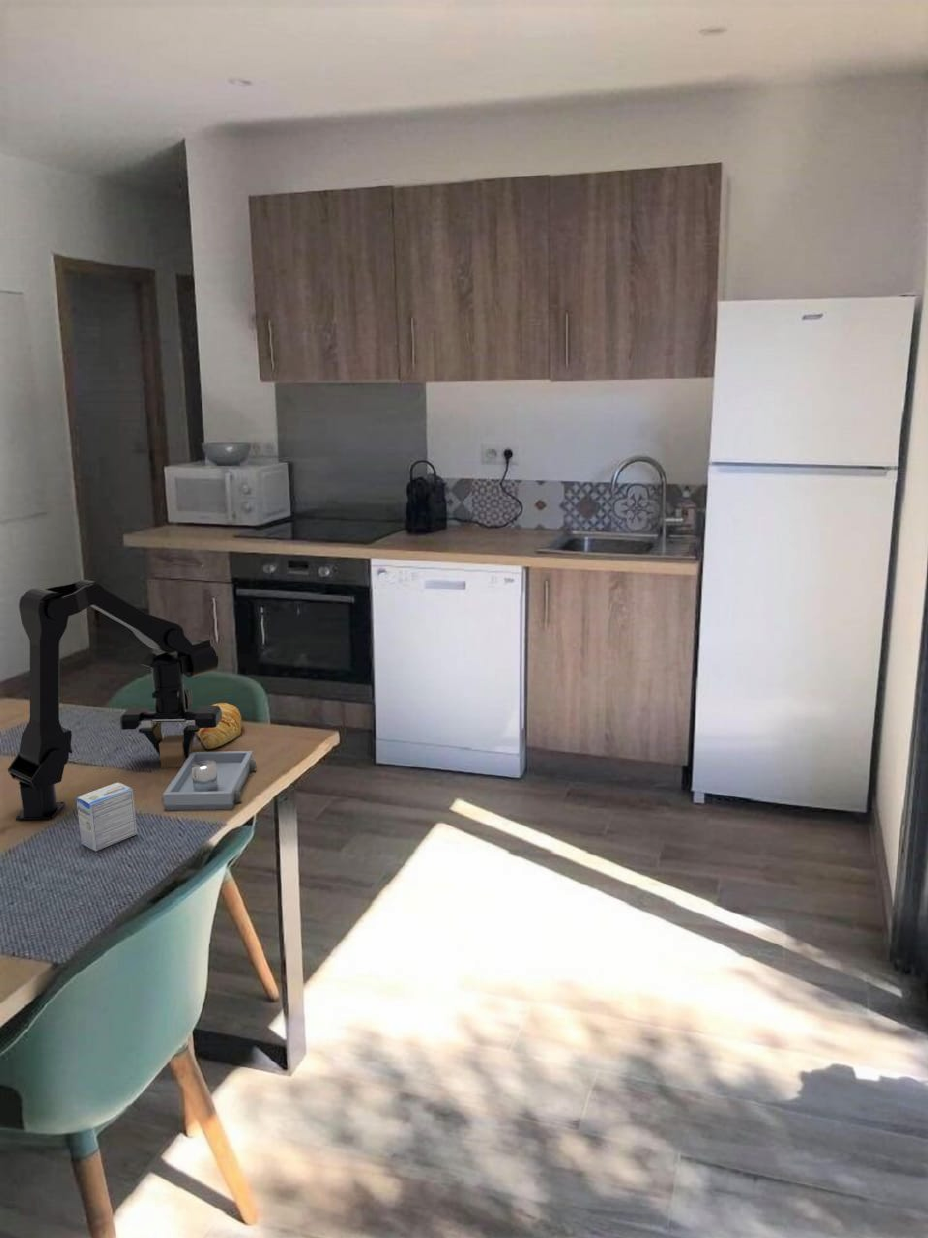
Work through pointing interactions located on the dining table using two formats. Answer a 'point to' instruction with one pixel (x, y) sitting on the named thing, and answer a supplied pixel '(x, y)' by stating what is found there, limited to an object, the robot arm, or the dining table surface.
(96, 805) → the medicine box
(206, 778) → the cylinder
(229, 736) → the croissant
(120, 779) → the dining table surface
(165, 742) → the walnut block
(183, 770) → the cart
